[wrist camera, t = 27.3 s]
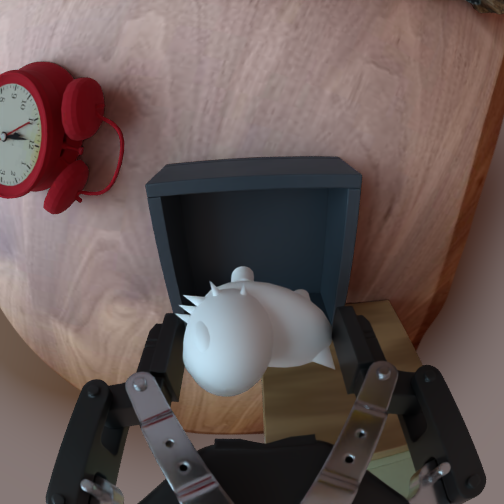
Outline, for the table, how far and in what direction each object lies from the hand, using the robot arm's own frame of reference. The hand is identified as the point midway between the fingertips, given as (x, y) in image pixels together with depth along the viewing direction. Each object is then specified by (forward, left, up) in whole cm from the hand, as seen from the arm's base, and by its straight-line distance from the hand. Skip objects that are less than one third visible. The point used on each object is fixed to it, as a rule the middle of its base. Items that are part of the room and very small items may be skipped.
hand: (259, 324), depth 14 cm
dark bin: (0, 0, -9) cm, 9 cm away
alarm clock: (-10, -15, -9) cm, 20 cm away
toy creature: (0, 0, -2) cm, 2 cm away
